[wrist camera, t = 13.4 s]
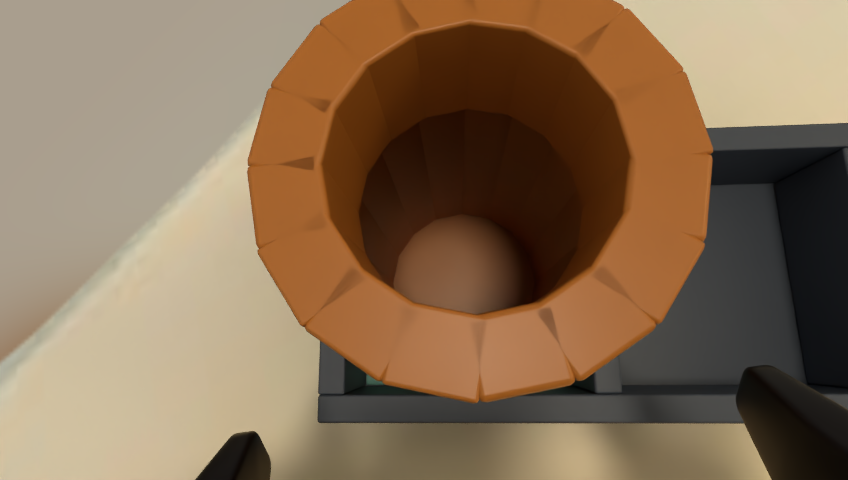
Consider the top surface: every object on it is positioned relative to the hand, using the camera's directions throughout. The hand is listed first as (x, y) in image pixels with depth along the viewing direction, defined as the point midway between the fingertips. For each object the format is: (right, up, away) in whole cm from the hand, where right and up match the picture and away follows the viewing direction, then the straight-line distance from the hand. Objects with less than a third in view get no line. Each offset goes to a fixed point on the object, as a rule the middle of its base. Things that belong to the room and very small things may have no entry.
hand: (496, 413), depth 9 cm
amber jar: (0, +2, +9) cm, 9 cm away
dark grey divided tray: (+4, +1, +10) cm, 11 cm away
